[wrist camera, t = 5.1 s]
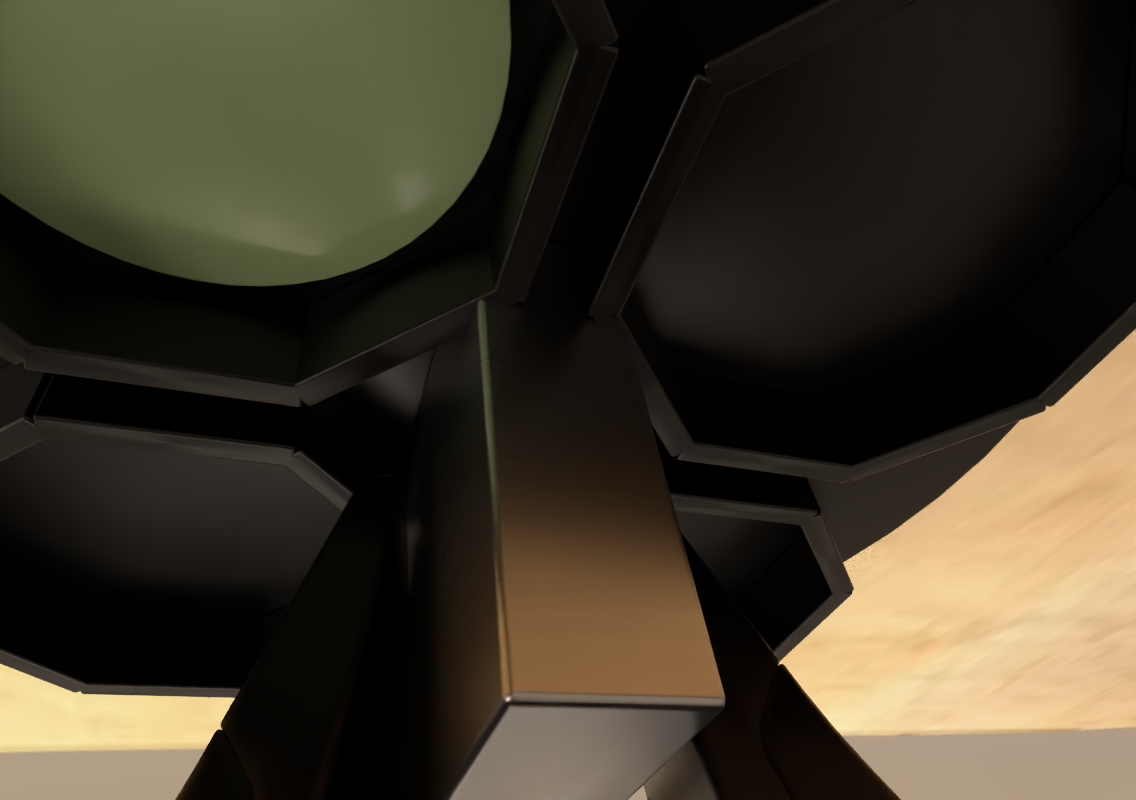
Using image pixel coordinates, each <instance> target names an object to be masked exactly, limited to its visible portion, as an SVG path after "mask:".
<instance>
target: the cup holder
mask: <svg viewBox="0 0 1136 800" xmlns="http://www.w3.org/2000/svg"><path fill="white" fill-rule="evenodd" d="M1135 329H1136V0H0V664H3V665H5V666H8V667H11V668H13V669H16V670H18V671H21V672H23V673H26V674H29V675H31V676H34V677H36V678H39V679H42V680H44V681H47V682H49V683H52V684H54V685H57V686H60V687H62V688H65V689H67V690H70V691H72V692H79V691H81V693H83V694H110V695H151V696H191V697H232V698H236V696H237V694H238V692H239V691H240V689H241V687H242V685H243V684H244V682H245V680H246V678H247V677H248V675H249V673H250V671H251V670H252V668H253V666H254V664H255V663H256V661H257V659H258V657H259V656H260V654H261V652H262V651H263V649H264V647H265V645H266V644H267V642H268V640H269V638H270V637H271V635H272V633H273V631H274V630H275V628H276V626H277V624H278V623H279V621H280V619H281V617H282V616H283V614H284V612H285V610H286V609H287V607H288V605H289V603H290V602H291V600H292V598H293V597H294V595H295V593H296V591H297V590H298V588H299V586H300V584H301V583H302V581H303V579H304V577H305V576H306V574H307V572H308V570H309V569H310V567H311V565H312V563H313V562H314V560H315V558H316V556H317V555H318V553H319V551H320V550H321V548H322V546H323V544H324V543H325V541H326V539H327V537H328V536H329V534H330V532H331V530H332V529H333V527H334V525H335V523H336V522H337V520H338V518H339V516H340V515H341V513H342V511H343V509H344V508H345V506H346V504H347V502H348V501H349V499H350V497H351V496H352V494H353V492H354V490H355V489H356V487H357V485H358V483H359V482H360V480H361V479H362V478H364V477H365V476H370V475H382V474H393V475H395V476H396V477H397V480H398V483H399V488H400V492H401V496H402V500H403V505H404V509H405V514H406V521H407V544H408V580H409V625H408V642H407V654H406V665H405V676H404V687H403V698H402V709H401V720H400V731H399V742H398V753H397V764H396V775H395V786H394V797H393V800H628V799H629V798H630V797H631V796H632V795H633V794H634V793H635V792H636V791H637V790H638V789H639V788H641V787H642V786H643V785H644V784H645V783H646V782H647V781H648V780H649V779H650V778H651V777H652V776H653V775H654V774H655V773H656V772H657V771H659V770H660V769H661V768H662V767H663V766H664V765H665V764H666V763H667V762H668V761H669V760H670V759H671V758H672V757H673V756H674V755H676V754H677V753H678V752H679V751H680V750H681V749H682V748H683V747H684V746H685V745H686V744H687V743H688V742H689V741H690V740H691V739H692V738H694V737H695V736H696V735H697V734H698V733H699V732H700V731H701V730H702V729H703V728H704V727H705V726H706V725H707V724H708V723H709V722H710V721H712V720H713V719H714V718H715V717H716V716H717V715H718V714H719V713H720V712H721V711H722V710H723V709H724V706H725V695H724V691H723V687H722V684H721V680H720V676H719V673H718V669H717V665H716V662H715V658H714V654H713V650H712V647H711V643H710V639H709V636H708V632H707V628H706V624H705V621H704V617H703V613H702V610H701V606H700V602H699V599H698V595H697V591H696V587H695V584H694V580H693V576H692V573H691V569H690V565H689V561H688V558H687V554H686V550H685V547H684V543H683V539H682V535H681V533H682V534H683V535H684V537H685V538H686V539H687V540H688V542H689V543H690V544H691V546H692V547H693V548H694V550H695V551H696V552H697V553H698V555H699V556H700V557H701V559H702V560H703V561H704V562H705V564H706V565H707V566H708V568H709V569H710V570H711V572H712V573H713V574H714V575H715V577H716V578H717V579H718V581H719V582H720V583H721V584H722V586H723V587H724V588H725V590H726V591H727V592H728V594H729V595H730V596H731V597H732V599H733V600H734V601H735V603H736V604H737V605H738V606H739V608H740V609H741V610H742V612H743V613H744V614H745V616H746V617H747V618H748V619H749V621H750V622H751V623H752V625H753V626H754V627H755V628H756V630H757V631H758V632H759V634H760V635H761V636H762V638H763V639H764V640H765V641H766V643H767V644H768V645H769V647H770V648H771V649H772V651H773V652H774V653H775V654H776V656H777V657H778V658H779V662H780V661H781V660H782V659H783V658H784V657H785V656H786V655H787V654H788V653H789V652H790V651H791V650H792V649H793V648H795V647H796V646H797V645H798V644H799V643H800V642H801V641H802V640H803V639H804V638H805V637H806V636H807V635H808V634H810V633H811V632H812V631H813V630H814V629H815V628H816V627H817V626H818V625H819V624H820V623H821V622H822V621H823V620H825V619H826V618H827V617H828V616H829V615H830V614H831V613H832V612H833V611H834V610H835V609H836V608H837V607H838V606H839V605H841V604H842V603H843V602H844V601H845V600H846V599H847V598H848V597H849V596H850V595H851V594H852V591H853V590H854V588H853V585H852V583H851V580H850V578H849V576H848V573H847V571H846V569H845V566H844V564H843V562H845V561H846V560H848V559H849V558H851V557H853V556H854V555H856V554H857V553H859V552H861V551H862V550H864V549H865V548H867V547H869V546H870V545H872V544H873V543H875V542H876V541H878V540H880V539H881V538H883V537H884V536H886V535H888V534H889V533H891V532H892V531H894V530H895V529H896V528H898V527H899V526H900V525H902V524H903V523H904V522H906V521H907V520H909V519H910V518H911V517H913V516H914V515H915V514H917V513H918V512H919V511H921V510H922V509H923V508H925V507H926V506H927V505H929V504H930V503H931V502H933V501H934V500H936V499H937V498H938V497H939V496H941V495H942V494H943V493H944V492H945V491H946V490H948V489H949V488H950V487H951V486H952V485H953V484H954V483H956V482H957V481H958V480H959V479H960V478H961V477H962V476H964V475H965V474H966V473H967V472H968V471H969V470H970V469H972V468H973V467H974V466H975V465H976V464H977V463H978V462H980V461H981V460H982V459H983V458H984V457H985V456H986V455H987V454H988V453H989V452H990V451H991V450H992V449H993V448H994V447H995V446H996V445H997V444H998V443H999V442H1000V441H1001V440H1002V438H1003V437H1004V436H1005V435H1006V434H1007V433H1008V432H1009V431H1010V430H1011V429H1012V428H1013V427H1014V426H1015V425H1016V424H1017V423H1018V422H1019V421H1020V420H1022V419H1024V418H1027V417H1030V416H1033V415H1035V414H1038V413H1041V412H1043V411H1045V409H1046V406H1049V407H1051V406H1053V405H1054V404H1056V403H1057V402H1058V401H1059V400H1060V399H1061V398H1062V397H1063V396H1064V395H1065V394H1066V393H1067V392H1068V391H1069V390H1071V389H1072V388H1073V387H1074V386H1075V385H1076V384H1077V383H1078V382H1079V381H1080V380H1081V379H1082V378H1083V377H1084V376H1085V375H1087V374H1088V373H1089V372H1090V371H1091V370H1092V369H1093V368H1094V367H1095V366H1096V365H1097V364H1098V363H1099V362H1100V361H1102V360H1103V359H1104V358H1105V357H1106V356H1107V355H1108V354H1109V353H1110V352H1111V351H1112V350H1113V349H1114V348H1115V347H1117V346H1118V345H1119V344H1120V343H1121V342H1122V341H1123V340H1124V339H1125V338H1126V337H1127V336H1128V335H1129V334H1130V333H1131V332H1133V331H1134V330H1135ZM680 531H681V532H680Z"/></svg>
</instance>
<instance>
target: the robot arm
mask: <svg viewBox="0 0 1136 800" xmlns="http://www.w3.org/2000/svg"><path fill="white" fill-rule="evenodd" d="M680 532H681V531H680ZM681 535H682V539H683V543H684V547H685V550H686V554H687V558H688V561H689V565H690V569H691V573H692V576H693V580H694V584H695V587H696V591H697V595H698V599H699V602H700V606H701V610H702V613H703V617H704V621H705V624H706V628H707V632H708V636H709V639H710V643H711V647H712V650H713V654H714V658H715V662H716V665H717V669H718V673H719V676H720V680H721V684H722V687H723V691H724V695H725V706H724V709H723V710H722V711H721V712H720V713H719V714H718V715H717V716H716V717H715V718H714V719H713V720H712V721H710V722H709V723H708V724H707V725H706V726H705V727H704V728H703V729H702V730H701V731H700V732H699V733H698V734H697V735H696V736H695V737H694V738H692V739H691V740H690V741H689V742H688V743H687V744H686V745H685V746H684V747H683V748H682V749H681V750H680V751H679V752H678V753H677V754H676V755H674V756H673V757H672V758H671V759H670V760H669V761H668V762H667V763H666V764H665V765H664V766H663V767H662V768H661V769H660V770H659V771H657V772H656V773H655V774H654V775H653V776H652V777H651V778H650V779H649V780H648V781H647V782H646V783H645V784H644V787H645V791H646V795H647V799H648V800H901V799H900V798H899V797H898V796H897V795H896V794H895V793H894V792H893V791H892V790H891V789H890V788H889V787H888V786H887V784H886V783H885V782H884V781H883V780H882V779H881V778H880V777H879V776H878V775H877V774H876V773H875V772H874V771H873V770H872V769H871V768H870V767H869V766H868V764H867V763H866V762H865V761H864V760H863V759H862V758H861V757H860V756H859V755H858V753H857V752H856V751H855V750H854V749H853V748H852V747H851V746H850V745H849V744H848V742H847V741H846V740H845V739H844V738H843V737H842V736H841V735H840V734H839V732H838V731H837V730H836V729H835V728H834V727H833V726H832V724H831V723H830V722H829V721H828V720H827V718H826V717H825V716H824V715H823V713H822V712H821V711H820V710H819V709H818V707H817V706H816V705H815V704H814V702H813V701H812V700H811V699H810V698H809V696H808V695H807V694H806V693H805V691H804V690H803V689H802V688H801V686H800V685H799V684H798V682H797V681H796V680H795V679H794V677H793V676H792V675H791V673H790V672H789V671H788V669H787V668H786V667H785V666H784V665H783V664H780V665H779V666H778V664H779V658H778V657H777V656H776V654H775V653H774V652H773V651H772V649H771V648H770V647H769V645H768V644H767V643H766V641H765V640H764V639H763V638H762V636H761V635H760V634H759V632H758V631H757V630H756V628H755V627H754V626H753V625H752V623H751V622H750V621H749V619H748V618H747V617H746V616H745V614H744V613H743V612H742V610H741V609H740V608H739V606H738V605H737V604H736V603H735V601H734V600H733V599H732V597H731V596H730V595H729V594H728V592H727V591H726V590H725V588H724V587H723V586H722V584H721V583H720V582H719V581H718V579H717V578H716V577H715V575H714V574H713V573H712V572H711V570H710V569H709V568H708V566H707V565H706V564H705V562H704V561H703V560H702V559H701V557H700V556H699V555H698V553H697V552H696V551H695V550H694V548H693V547H692V546H691V544H690V543H689V542H688V540H687V539H686V538H685V537H684V535H683V534H682V533H681ZM408 625H409V580H408V544H407V521H406V514H405V509H404V505H403V500H402V496H401V492H400V488H399V483H398V480H397V477H396V476H395V475H393V474H382V475H370V476H365V477H364V478H362V479H361V480H360V482H359V483H358V485H357V487H356V489H355V490H354V492H353V494H352V496H351V497H350V499H349V501H348V502H347V504H346V506H345V508H344V509H343V511H342V513H341V515H340V516H339V518H338V520H337V522H336V523H335V525H334V527H333V529H332V530H331V532H330V534H329V536H328V537H327V539H326V541H325V543H324V544H323V546H322V548H321V550H320V551H319V553H318V555H317V556H316V558H315V560H314V562H313V563H312V565H311V567H310V569H309V570H308V572H307V574H306V576H305V577H304V579H303V581H302V583H301V584H300V586H299V588H298V590H297V591H296V593H295V595H294V597H293V598H292V600H291V602H290V603H289V605H288V607H287V609H286V610H285V612H284V614H283V616H282V617H281V619H280V621H279V623H278V624H277V626H276V628H275V630H274V631H273V633H272V635H271V637H270V638H269V640H268V642H267V644H266V645H265V647H264V649H263V651H262V652H261V654H260V656H259V657H258V659H257V661H256V663H255V664H254V666H253V668H252V670H251V671H250V673H249V675H248V677H247V678H246V680H245V682H244V684H243V685H242V687H241V689H240V691H239V692H238V694H237V696H236V698H235V699H234V701H233V703H232V705H231V706H230V708H229V710H228V711H227V713H226V715H225V717H224V718H223V720H222V722H221V728H222V730H223V731H222V730H217V731H216V732H215V733H214V735H213V737H212V739H211V741H210V742H209V744H208V746H207V748H206V749H205V751H204V753H203V755H202V756H201V758H200V760H199V762H198V763H197V765H196V767H195V768H194V770H193V772H192V773H191V775H190V776H189V778H188V780H187V781H186V783H185V785H184V786H183V788H182V790H181V791H180V793H179V794H178V796H177V798H176V799H175V800H393V797H394V786H395V775H396V764H397V753H398V742H399V731H400V720H401V709H402V698H403V687H404V676H405V665H406V654H407V642H408Z"/></svg>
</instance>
